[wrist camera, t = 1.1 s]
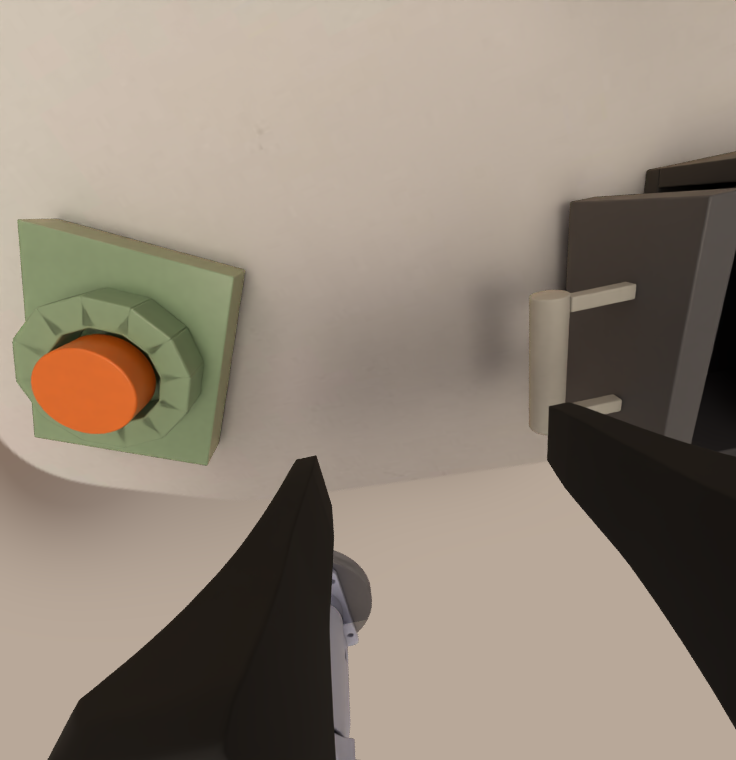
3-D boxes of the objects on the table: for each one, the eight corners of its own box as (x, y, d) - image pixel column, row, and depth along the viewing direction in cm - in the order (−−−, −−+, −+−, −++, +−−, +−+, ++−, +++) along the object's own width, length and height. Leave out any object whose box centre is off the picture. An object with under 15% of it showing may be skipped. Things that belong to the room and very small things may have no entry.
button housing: (219, 442, 21) (195, 490, 17) (64, 414, 20) (3, 460, 16) (245, 269, 17) (222, 284, 14) (56, 218, 16) (-26, 219, 12)
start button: (154, 419, 16) (134, 442, 15) (63, 403, 16) (32, 424, 14) (159, 345, 15) (138, 361, 13) (60, 323, 14) (25, 337, 13)
